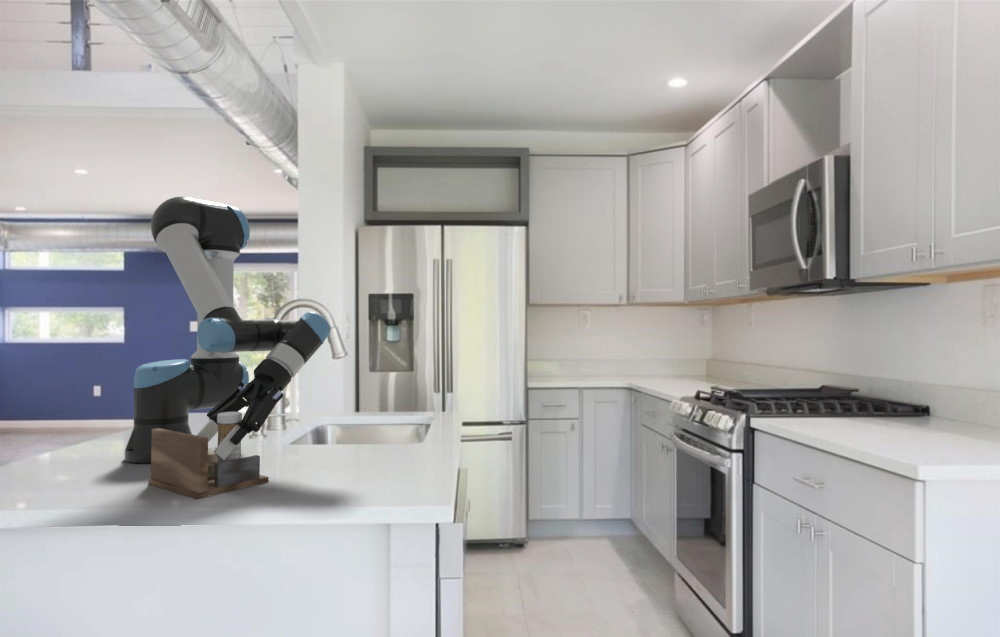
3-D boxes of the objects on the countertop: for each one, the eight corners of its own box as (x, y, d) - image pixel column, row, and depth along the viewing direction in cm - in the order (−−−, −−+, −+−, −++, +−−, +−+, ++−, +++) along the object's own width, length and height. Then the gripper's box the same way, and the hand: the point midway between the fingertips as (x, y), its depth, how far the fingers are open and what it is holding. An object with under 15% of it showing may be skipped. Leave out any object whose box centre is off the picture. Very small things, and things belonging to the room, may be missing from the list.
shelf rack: (219, 469, 132) (219, 420, 132) (268, 481, 122) (269, 428, 122) (148, 484, 119) (149, 429, 120) (196, 499, 109) (197, 439, 110)
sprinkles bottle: (220, 477, 122) (221, 411, 122) (244, 476, 122) (244, 410, 123) (213, 482, 117) (213, 414, 117) (237, 481, 118) (238, 414, 118)
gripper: (319, 384, 128) (248, 472, 114) (259, 376, 140) (189, 455, 126) (299, 360, 123) (223, 449, 110) (240, 354, 135) (165, 433, 122)
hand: (205, 452), depth 118 cm, fingers open, 8 cm apart
